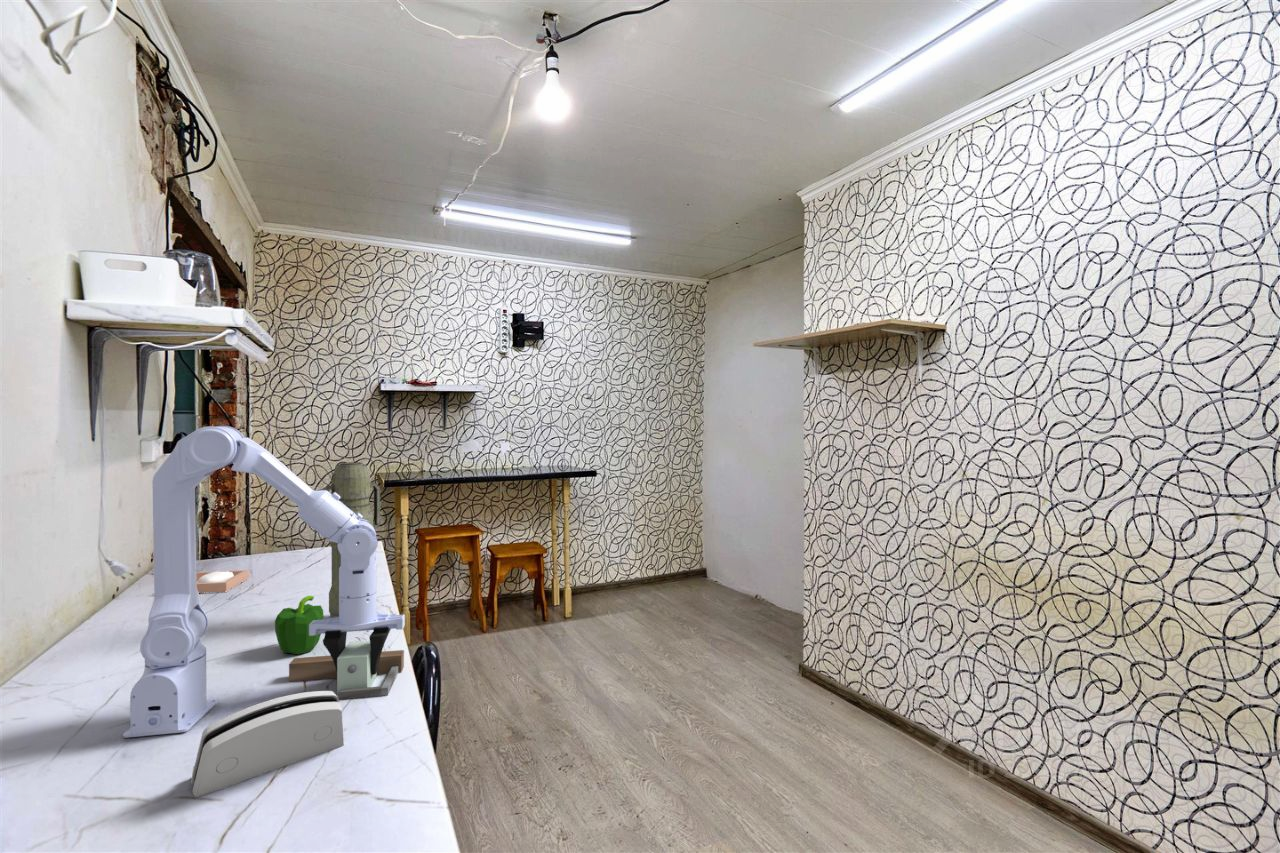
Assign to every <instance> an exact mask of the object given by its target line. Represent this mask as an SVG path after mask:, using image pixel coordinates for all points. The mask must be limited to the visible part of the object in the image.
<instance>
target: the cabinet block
mask: <svg viewBox="0 0 1280 853" xmlns="http://www.w3.org/2000/svg"><path fill="white" fill-rule="evenodd" d="M377 675H378V674H377V672H376V674H374V675H371V646H370V640H362V641H349V642H348V643H347V644H346V647H345V649H344V650H343V651H342V653H341V654H340V655H339V657H338V658H337V678H336V679H337V682H336V684H337V685H336V686H337V688H336V689H337V694H336V696H338V691H339V690H344V689H356V688H367V687H372V685H373V683H374V682H375V679H376V677H377Z"/></svg>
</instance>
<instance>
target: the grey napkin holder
mask: <svg viewBox="0 0 1280 853" xmlns="http://www.w3.org/2000/svg"><path fill="white" fill-rule="evenodd" d="M339 701H340V700H339V699H338V695H337V694H336V693H335V692H334V691H333V690H318V691H305V692H299V693H294V694H293V693H292V694H288V695H285V696H279V697H275V698H273V699H269V700H267V701H262V702H259V703H257V704H254V705H251V706H249V707H246V708H244V709H241V710H239V711H236V712H234V713H232V714H230V715H227V716H226V717H224V718H221V719H220V720H218V721H216V722H214V723H212V724H210V725H208V726H207V727H206V728H204V730H203V731H202V732H201V738H200V741H199V745H198V746H199V747H198V748H197V749H198V750H197V754H196V759H195V762H194V765H193V766H192V767H193V768H192V774H191V782H190V784H193V787H192V794H193V795H194V797H195V798H198V797H201V796H204V795H207V794H210V793H212V792H215V791H218V790H219V791H220V790H222V789H224V788H228V787H229V786H232V785H235V784H239V783H242V782H245V781H246V780H249V779H253V778H256V777H258V776H261V775H264V774H267V773H269V772H272V771H275V770H278V769H280V768H283V767H285V766H286V767H288V766H289V765H292V764H294V763H295V764H296V763H298V762H300V761H303V760H307V759H309V758H311V757H314V756H317V755H321V754H323V753H326V752H329V751H332V750H335V749H338V748H340V747H342V746H344V743H345V742H344V728H343V727H344V726H343V725H344V724H343V723H344V722H343V708H342V707H343V706H342V704H341V702H339Z"/></svg>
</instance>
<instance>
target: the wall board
mask: <svg viewBox="0 0 1280 853" xmlns="http://www.w3.org/2000/svg"><path fill="white" fill-rule="evenodd" d="M404 667H405V650H404V649H399V650H384V651H383V650H382V652H381V656H380V660H379V665H378V671H377V675H382V674H383V675H386V674H387V677H385V680H384V681H383V684H382V685H381V686H371V687H367V688H356V689H344V690H339V691H338V695H337V697H338V699H339V701H340V700H349V699H359V698H360V699H361V698H372V697H382V696H384V697H385V696H389V694H390V691H391V689H392V687H393V685H394V682H395V681H396V679H397V676H398V674H400V673H402V672H403V669H404ZM325 679H337V671H336V667H335V664H334V661H333V659H332V657H331V655H330V654H329V655H320V656H319V655H317V656H305V657H294V658H293V659H292V660H291V661H290V662H289V663H288V682H301V681H311V680H312V681H313V680H325Z"/></svg>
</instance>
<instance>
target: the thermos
mask: <svg viewBox="0 0 1280 853" xmlns="http://www.w3.org/2000/svg"><path fill="white" fill-rule="evenodd" d="M371 489H373V513H372V510H371V503H370V497H371ZM323 490H327V491H328V492H329V493H330V491H331V494H333V493H334V492H336V493H337V494H338V495H339V496H340V499H339V501H340V502H342V503H343V504H344V505H345V506H346V507H348V508H349V509H350V510H351V511H353V512H354V513H355V514H357V513H360V514H361V515H362V516H363V518H362V519H364V520H367V521H369V523H370V524H371V525H372V526H373V528H374V529H378V528H380V526H381V525H380V524H381V488H380V486H379V485H378V484H377V483H376V482H372V481H371V475H370V472H369V469H368V466H367V464H366V463H363V462H356V461H355V462H352V461H351V462H339V464H336V465H335V467H334V469H333V473H332V477H331V484H330V485H328V486H325V487H324V488H323ZM328 542H329V545H330V547H331V587H330V589H329V591H328V613H329V618H336V617H339V568H340V566H341V554H340V552H339V550H338V546H337V545H338V544H339V543H336V542H332V541H329V540H328Z"/></svg>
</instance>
